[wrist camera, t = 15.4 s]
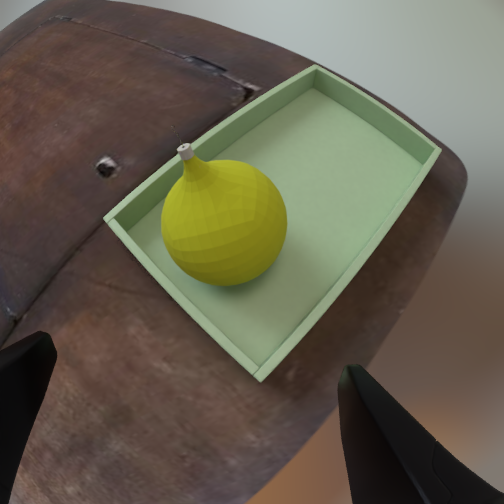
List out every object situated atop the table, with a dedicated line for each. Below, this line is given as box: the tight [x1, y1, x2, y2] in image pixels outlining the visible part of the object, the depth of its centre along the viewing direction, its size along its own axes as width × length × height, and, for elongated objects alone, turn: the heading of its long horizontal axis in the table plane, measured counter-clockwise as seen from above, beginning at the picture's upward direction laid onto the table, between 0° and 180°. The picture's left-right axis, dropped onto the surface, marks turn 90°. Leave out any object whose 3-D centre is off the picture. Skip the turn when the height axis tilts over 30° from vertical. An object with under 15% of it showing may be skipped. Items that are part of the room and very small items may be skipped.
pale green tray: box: [103, 64, 442, 382], centre depth 21 cm, size 14×23×3 cm, turn 137°
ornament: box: [161, 125, 288, 286], centre depth 16 cm, size 7×7×10 cm
